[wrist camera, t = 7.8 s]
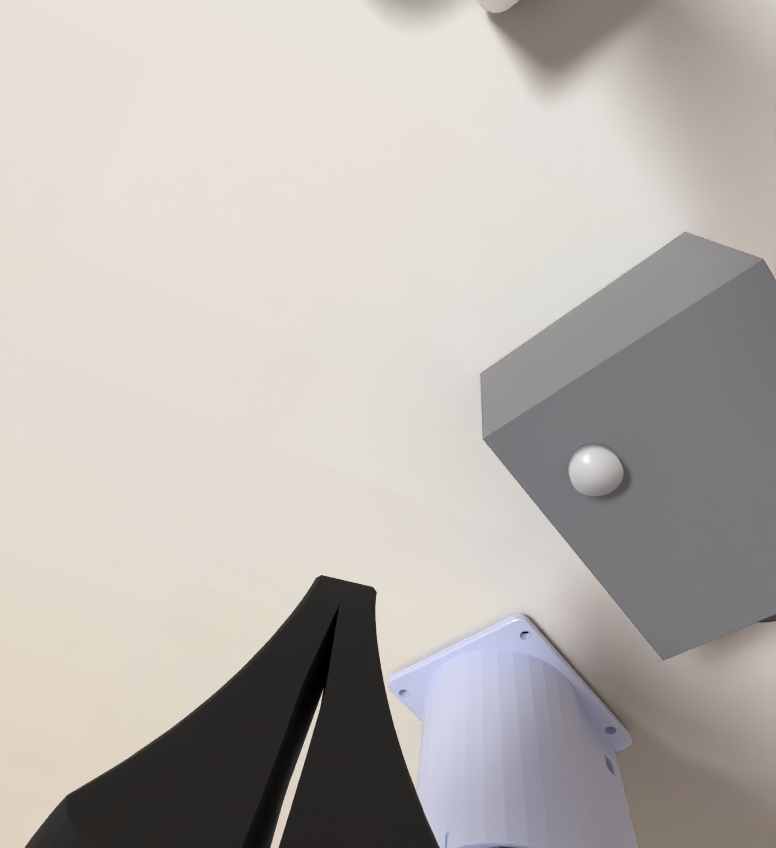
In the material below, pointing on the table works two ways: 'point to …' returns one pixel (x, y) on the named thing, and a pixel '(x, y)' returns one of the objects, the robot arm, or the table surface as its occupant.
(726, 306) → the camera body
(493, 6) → the joystick
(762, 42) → the table surface
